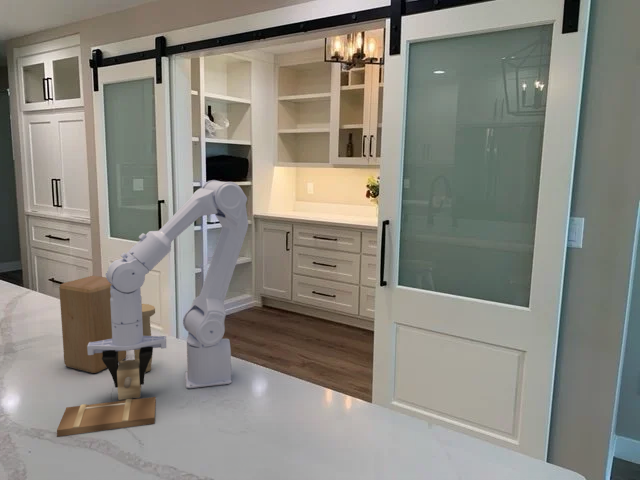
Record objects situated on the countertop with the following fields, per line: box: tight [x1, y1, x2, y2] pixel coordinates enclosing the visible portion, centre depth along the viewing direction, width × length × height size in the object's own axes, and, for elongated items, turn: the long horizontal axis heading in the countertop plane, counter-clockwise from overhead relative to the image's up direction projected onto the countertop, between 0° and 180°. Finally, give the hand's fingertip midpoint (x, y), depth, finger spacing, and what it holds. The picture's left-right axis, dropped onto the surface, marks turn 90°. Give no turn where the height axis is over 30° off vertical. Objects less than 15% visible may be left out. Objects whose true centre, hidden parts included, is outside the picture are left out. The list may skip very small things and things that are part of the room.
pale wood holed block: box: [117, 358, 142, 401], centre depth 94 cm, size 4×8×6 cm, turn 17°
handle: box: [133, 303, 156, 374], centre depth 107 cm, size 5×6×15 cm
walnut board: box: [56, 396, 157, 437], centre depth 88 cm, size 16×8×1 cm, turn 107°
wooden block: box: [58, 275, 127, 374], centre depth 110 cm, size 10×10×20 cm
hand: (129, 383), depth 96 cm, fingers closed on pale wood holed block, 4 cm apart
